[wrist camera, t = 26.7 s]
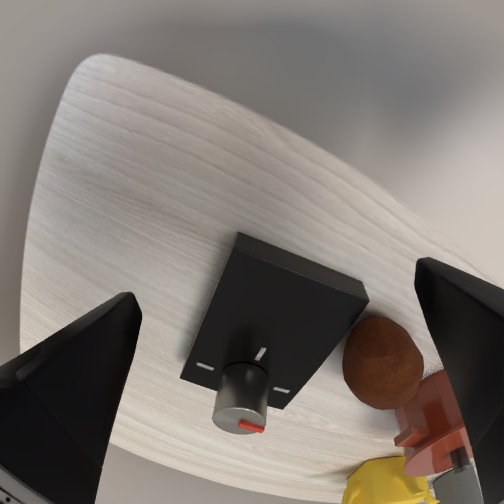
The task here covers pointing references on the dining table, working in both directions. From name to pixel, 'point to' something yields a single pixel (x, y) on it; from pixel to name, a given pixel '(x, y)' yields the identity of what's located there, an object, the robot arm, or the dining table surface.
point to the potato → (382, 364)
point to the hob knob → (241, 399)
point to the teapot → (386, 484)
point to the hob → (272, 318)
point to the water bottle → (458, 488)
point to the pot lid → (441, 454)
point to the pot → (427, 414)
